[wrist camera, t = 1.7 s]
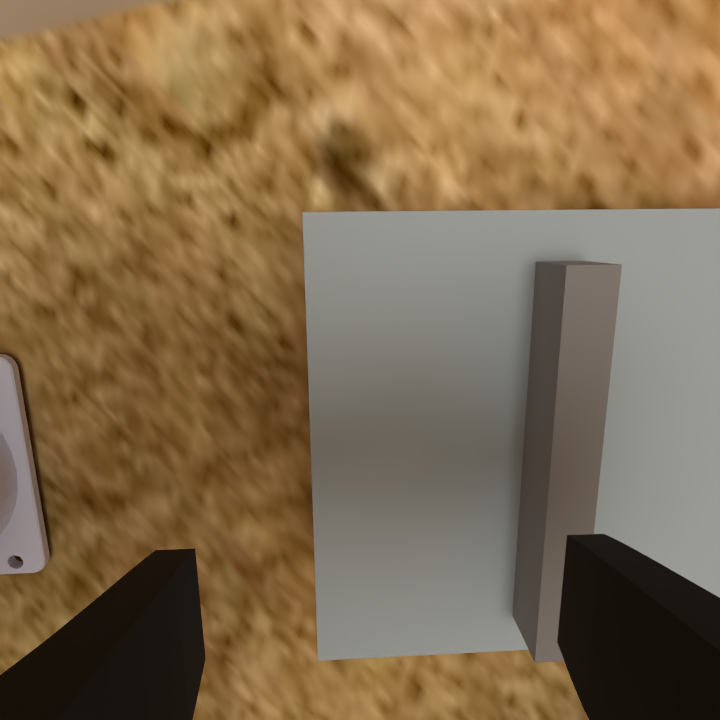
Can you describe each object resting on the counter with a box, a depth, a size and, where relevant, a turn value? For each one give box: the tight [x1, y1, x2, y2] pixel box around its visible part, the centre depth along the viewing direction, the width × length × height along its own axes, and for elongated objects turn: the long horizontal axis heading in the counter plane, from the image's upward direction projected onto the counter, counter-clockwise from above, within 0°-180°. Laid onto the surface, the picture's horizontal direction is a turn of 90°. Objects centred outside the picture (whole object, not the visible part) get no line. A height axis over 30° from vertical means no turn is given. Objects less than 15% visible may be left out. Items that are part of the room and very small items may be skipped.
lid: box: [302, 209, 720, 662], centre depth 14 cm, size 18×12×2 cm
